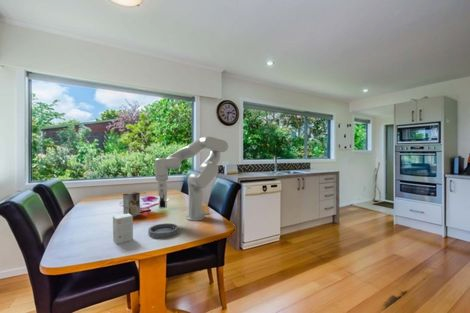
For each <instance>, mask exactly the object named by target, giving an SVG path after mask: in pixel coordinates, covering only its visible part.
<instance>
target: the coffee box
mask: <svg viewBox="0 0 470 313" xmlns="http://www.w3.org/2000/svg"><path fill="white" fill-rule="evenodd" d="M140 194H141V193H140V192H136V191H132V192H128V193H122V202H123V207H122V210H123V213H122V214H128V213H129V214H131V215H132V216H133V217H135V216H140V214H141V200H140V199H141V198H140V196H141V195H140Z"/></svg>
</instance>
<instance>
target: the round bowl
mask: <svg viewBox="0 0 470 313" xmlns="http://www.w3.org/2000/svg"><path fill="white" fill-rule="evenodd" d="M147 231H148V232H147V233H148V237H150V238H152V239H161V240H162V239H168V238H172V237H174V236H176V235H178V233H179V226H178V225H177V224H175V223H169V222H168V223H159V224H155V225H151V227H148V230H147Z"/></svg>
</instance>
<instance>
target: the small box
mask: <svg viewBox="0 0 470 313" xmlns="http://www.w3.org/2000/svg"><path fill="white" fill-rule="evenodd" d="M133 218H134V216H132V215H131V214H129V213H128V214H123V213H122V214H117V215H112V235H113V236H112V240H113V242H114V243H115V244H116V245H117V244H121V243H126V242H130V241H133V240H134V225H133V224H134V223H133V221H134V219H133Z"/></svg>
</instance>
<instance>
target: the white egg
mask: <svg viewBox="0 0 470 313" xmlns="http://www.w3.org/2000/svg"><path fill="white" fill-rule="evenodd" d="M167 197H168V195H167V196H165V207H162V208H160V197H159V196H158V198H157V200H158V201H157V202H158V209H161V210H162V209H166V208H168V203H167V202H168V201H167V199H168V198H167ZM163 198H164V197H163Z"/></svg>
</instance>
